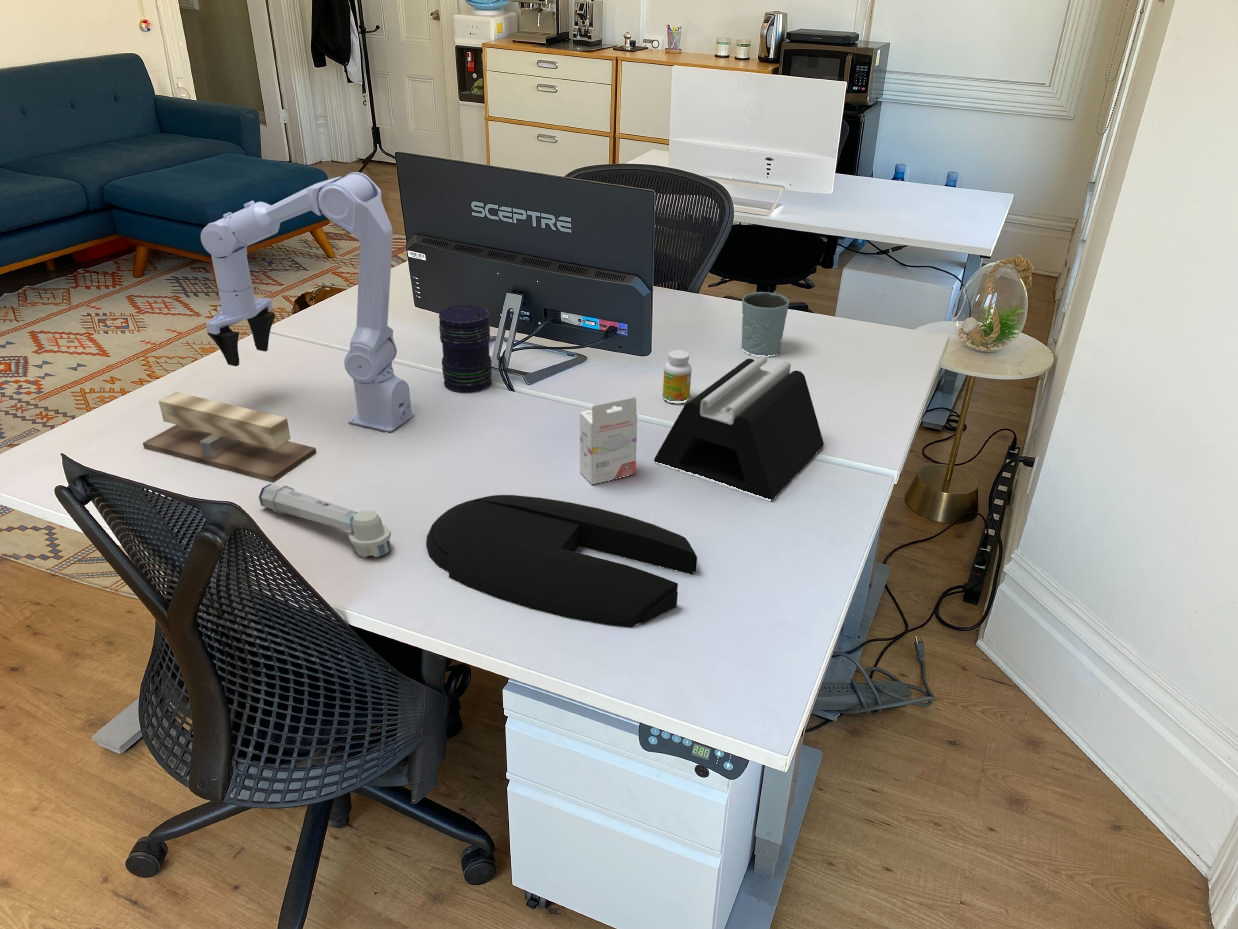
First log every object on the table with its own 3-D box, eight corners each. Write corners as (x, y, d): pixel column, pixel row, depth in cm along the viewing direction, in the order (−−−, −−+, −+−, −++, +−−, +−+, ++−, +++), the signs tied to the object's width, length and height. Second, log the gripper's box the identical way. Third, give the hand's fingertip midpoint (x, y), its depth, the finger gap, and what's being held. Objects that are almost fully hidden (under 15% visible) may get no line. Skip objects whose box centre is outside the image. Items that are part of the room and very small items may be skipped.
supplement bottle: (658, 402, 182) (660, 356, 177) (667, 391, 186) (670, 346, 181) (684, 407, 180) (687, 361, 175) (692, 396, 184) (696, 351, 180)
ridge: (253, 434, 163) (250, 419, 162) (212, 459, 155) (209, 443, 154) (244, 432, 164) (241, 417, 163) (203, 456, 156) (199, 441, 155)
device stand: (823, 449, 167) (834, 373, 160) (771, 503, 150) (781, 422, 143) (713, 417, 177) (719, 344, 170) (653, 464, 161) (657, 386, 153)
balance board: (316, 452, 160) (315, 447, 160) (273, 482, 151) (272, 476, 151) (191, 421, 169) (190, 417, 169) (143, 447, 160) (142, 442, 160)
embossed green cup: (784, 344, 209) (790, 294, 204) (781, 361, 201) (787, 309, 195) (740, 340, 211) (745, 289, 205) (735, 356, 203) (739, 304, 197)
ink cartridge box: (622, 462, 160) (625, 385, 153) (636, 475, 156) (639, 397, 149) (578, 472, 157) (578, 394, 149) (591, 486, 153) (592, 407, 146)
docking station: (476, 489, 152) (474, 463, 149) (711, 546, 139) (714, 518, 137) (390, 572, 132) (387, 543, 129) (656, 646, 119) (658, 616, 117)
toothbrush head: (279, 476, 146) (392, 505, 133) (289, 513, 149) (401, 545, 136) (252, 491, 142) (365, 522, 129) (263, 528, 145) (375, 562, 132)
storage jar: (436, 391, 183) (430, 320, 176) (451, 371, 192) (447, 303, 184) (484, 395, 182) (481, 324, 175) (498, 375, 191) (495, 307, 183)
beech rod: (290, 438, 156) (287, 417, 154) (274, 449, 153) (270, 427, 151) (181, 412, 164) (176, 391, 162) (163, 421, 160) (158, 400, 158)
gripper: (245, 272, 171) (258, 340, 178) (186, 295, 159) (202, 367, 166) (276, 277, 169) (287, 346, 176) (218, 301, 157) (233, 374, 164)
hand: (248, 357), depth 171 cm, fingers open, 7 cm apart
